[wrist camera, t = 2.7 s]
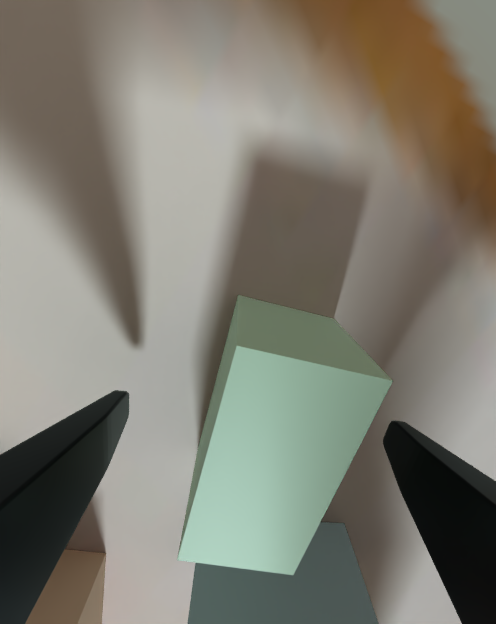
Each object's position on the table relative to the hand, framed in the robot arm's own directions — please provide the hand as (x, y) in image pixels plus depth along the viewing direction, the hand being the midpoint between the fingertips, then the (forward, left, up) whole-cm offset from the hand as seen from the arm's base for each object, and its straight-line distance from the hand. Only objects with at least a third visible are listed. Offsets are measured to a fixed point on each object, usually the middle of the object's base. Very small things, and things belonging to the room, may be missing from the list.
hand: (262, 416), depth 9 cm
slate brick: (-2, +9, -2) cm, 9 cm away
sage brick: (0, 0, -2) cm, 2 cm away
